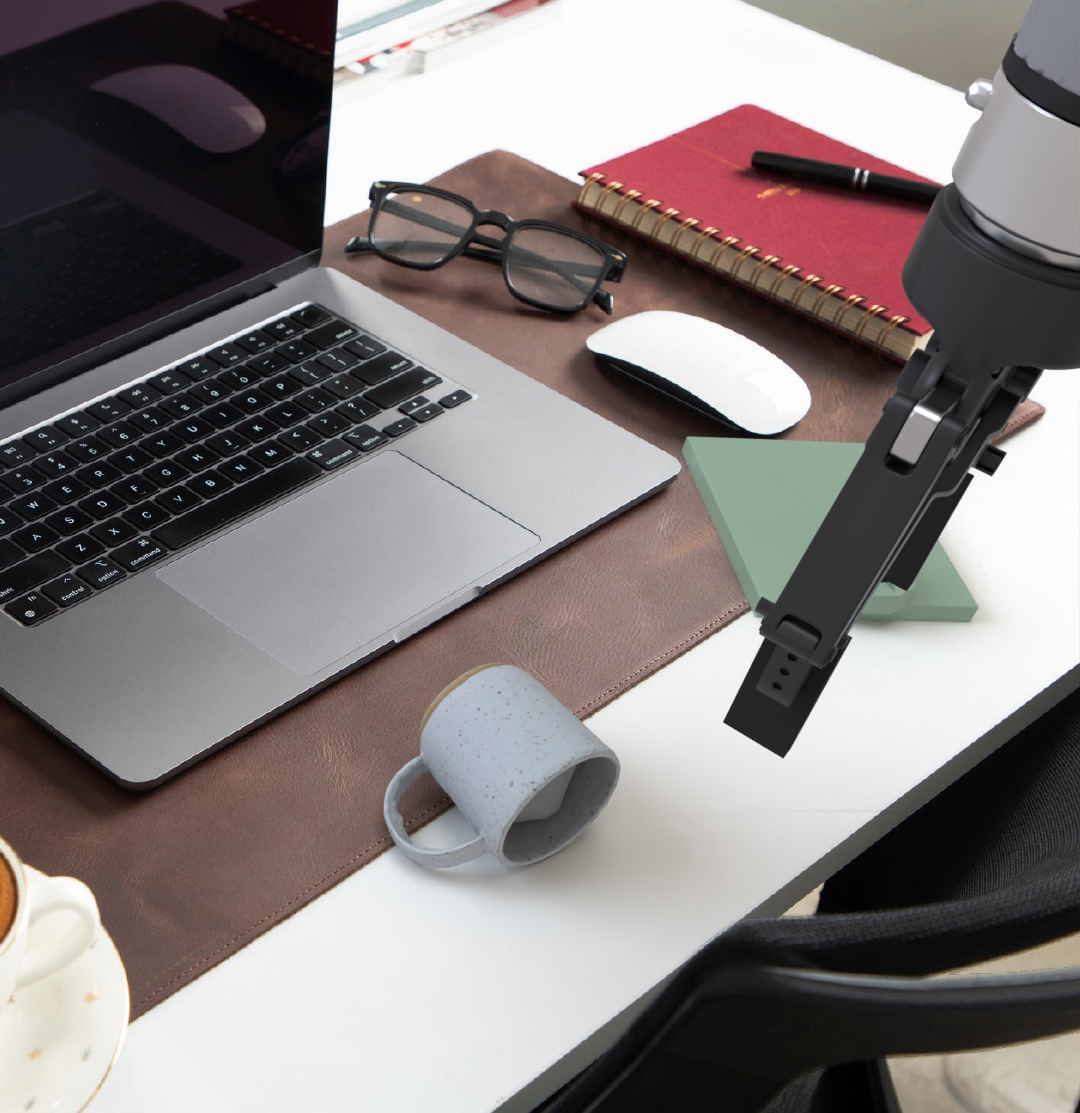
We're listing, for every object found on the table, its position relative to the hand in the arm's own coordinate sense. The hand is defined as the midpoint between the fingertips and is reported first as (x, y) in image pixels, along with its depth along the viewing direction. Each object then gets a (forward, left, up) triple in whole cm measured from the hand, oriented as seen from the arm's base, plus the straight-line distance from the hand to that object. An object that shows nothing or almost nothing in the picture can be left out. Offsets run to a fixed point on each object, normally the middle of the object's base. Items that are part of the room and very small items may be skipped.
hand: (822, 649), depth 63 cm
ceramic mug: (+3, +11, -17) cm, 20 cm away
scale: (+26, -16, -16) cm, 35 cm away
